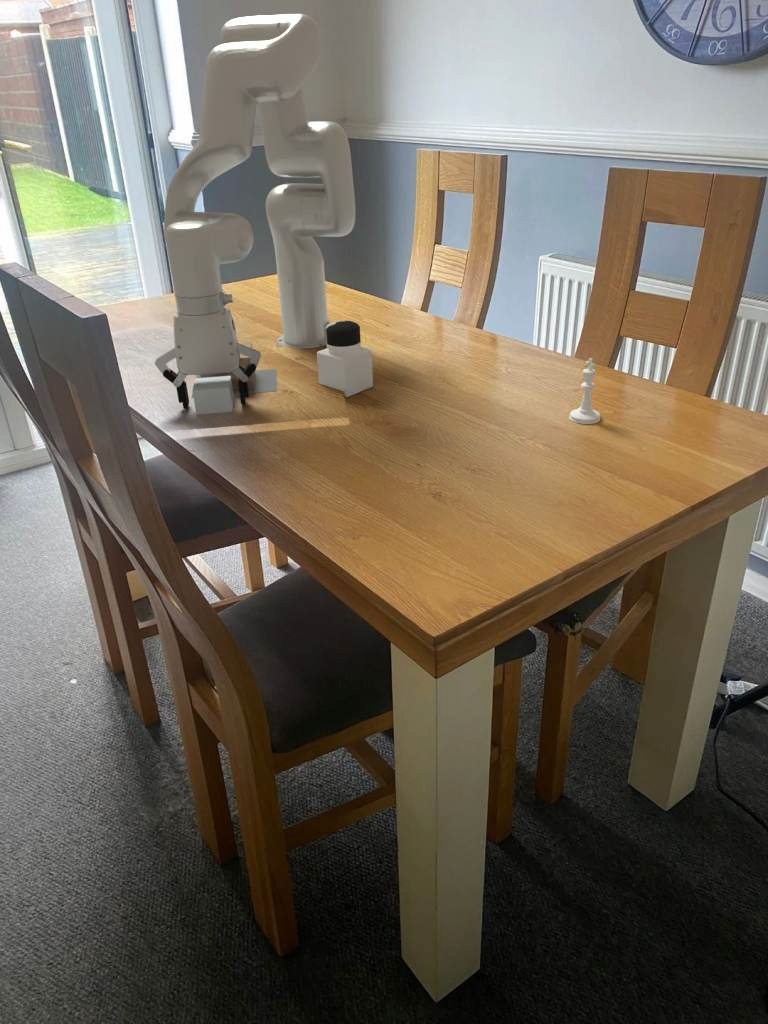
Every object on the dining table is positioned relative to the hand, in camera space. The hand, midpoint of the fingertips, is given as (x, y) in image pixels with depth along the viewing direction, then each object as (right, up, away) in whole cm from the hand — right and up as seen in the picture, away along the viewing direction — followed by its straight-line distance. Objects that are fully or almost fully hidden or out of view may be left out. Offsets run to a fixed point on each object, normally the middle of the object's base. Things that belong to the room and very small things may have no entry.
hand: (215, 403), depth 134 cm
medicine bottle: (+22, +4, +9) cm, 24 cm away
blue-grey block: (0, -2, +1) cm, 2 cm away
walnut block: (+1, +5, +10) cm, 11 cm away
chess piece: (+61, -3, -6) cm, 62 cm away
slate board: (+2, +4, +11) cm, 12 cm away
